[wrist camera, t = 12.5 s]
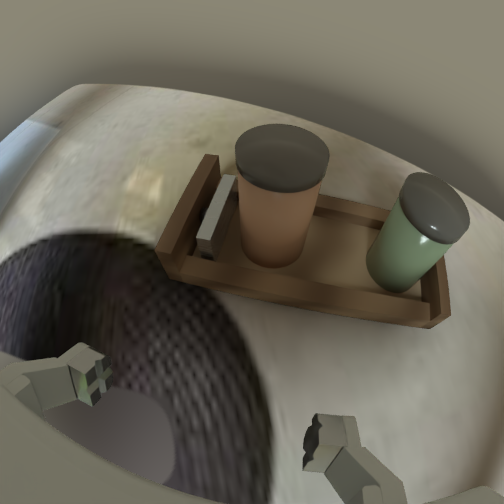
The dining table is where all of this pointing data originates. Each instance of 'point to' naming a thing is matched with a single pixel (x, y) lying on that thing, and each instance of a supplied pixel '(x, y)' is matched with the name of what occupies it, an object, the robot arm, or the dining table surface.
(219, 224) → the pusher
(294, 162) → the terracotta jar
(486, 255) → the dining table surface
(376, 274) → the olive jar
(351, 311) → the wooden tray
